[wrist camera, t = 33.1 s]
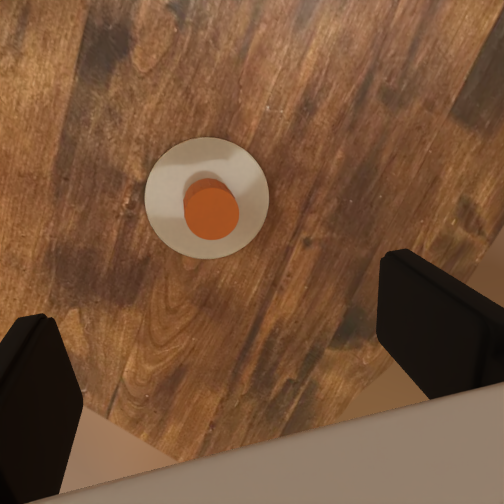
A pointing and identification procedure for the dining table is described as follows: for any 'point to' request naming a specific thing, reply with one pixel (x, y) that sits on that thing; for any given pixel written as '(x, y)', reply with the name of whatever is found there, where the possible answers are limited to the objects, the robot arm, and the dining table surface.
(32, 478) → the robot arm
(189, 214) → the cap
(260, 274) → the dining table surface
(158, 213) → the coaster
